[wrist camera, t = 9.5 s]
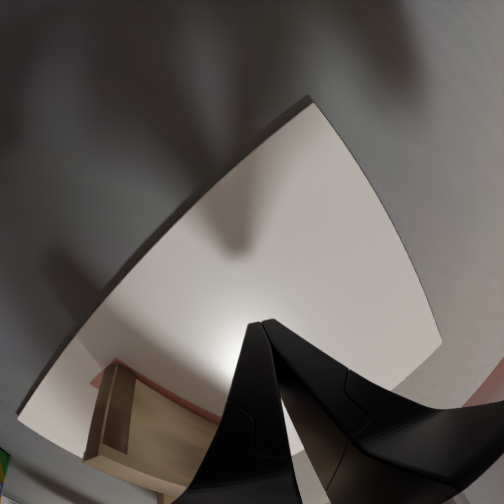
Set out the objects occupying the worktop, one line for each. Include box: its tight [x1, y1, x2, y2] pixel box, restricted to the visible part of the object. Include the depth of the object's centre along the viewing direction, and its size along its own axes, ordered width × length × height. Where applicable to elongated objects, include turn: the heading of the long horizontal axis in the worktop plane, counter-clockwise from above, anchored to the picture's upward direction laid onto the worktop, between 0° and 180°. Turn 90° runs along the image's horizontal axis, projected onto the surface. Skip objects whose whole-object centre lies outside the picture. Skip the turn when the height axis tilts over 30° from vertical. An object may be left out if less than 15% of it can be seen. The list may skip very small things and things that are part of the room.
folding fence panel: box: [82, 364, 218, 498], centre depth 10 cm, size 11×2×5 cm, turn 38°
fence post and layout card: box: [18, 103, 442, 504], centre depth 11 cm, size 18×27×6 cm, turn 131°
